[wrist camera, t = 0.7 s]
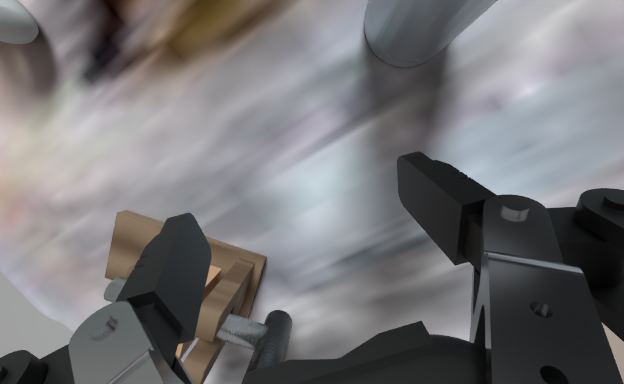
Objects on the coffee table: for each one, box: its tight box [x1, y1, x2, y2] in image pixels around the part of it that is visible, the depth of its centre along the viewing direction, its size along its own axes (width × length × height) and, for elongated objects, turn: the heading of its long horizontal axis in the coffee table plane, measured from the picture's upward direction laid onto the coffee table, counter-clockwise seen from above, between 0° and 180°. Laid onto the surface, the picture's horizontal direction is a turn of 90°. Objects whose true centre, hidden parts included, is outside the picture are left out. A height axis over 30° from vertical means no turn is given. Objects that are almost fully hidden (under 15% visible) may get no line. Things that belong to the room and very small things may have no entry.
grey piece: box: [104, 276, 292, 384], centre depth 23 cm, size 3×18×13 cm, turn 72°
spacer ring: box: [176, 265, 222, 359], centre depth 27 cm, size 7×2×6 cm, turn 162°
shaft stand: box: [105, 210, 266, 384], centre depth 29 cm, size 9×19×12 cm, turn 72°
